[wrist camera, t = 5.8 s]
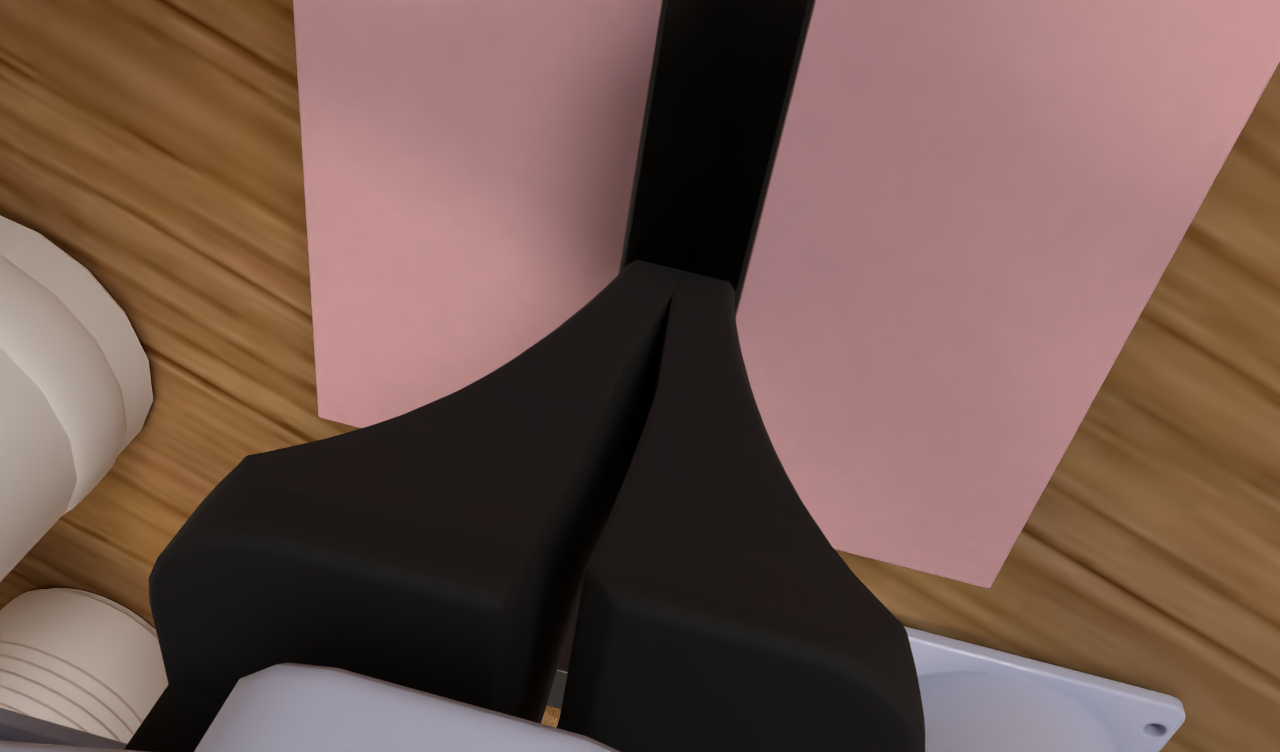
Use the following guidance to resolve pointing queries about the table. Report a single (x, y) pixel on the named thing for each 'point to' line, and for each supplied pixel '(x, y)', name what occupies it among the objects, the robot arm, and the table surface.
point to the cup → (79, 662)
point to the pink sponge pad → (787, 223)
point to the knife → (712, 132)
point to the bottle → (59, 386)
